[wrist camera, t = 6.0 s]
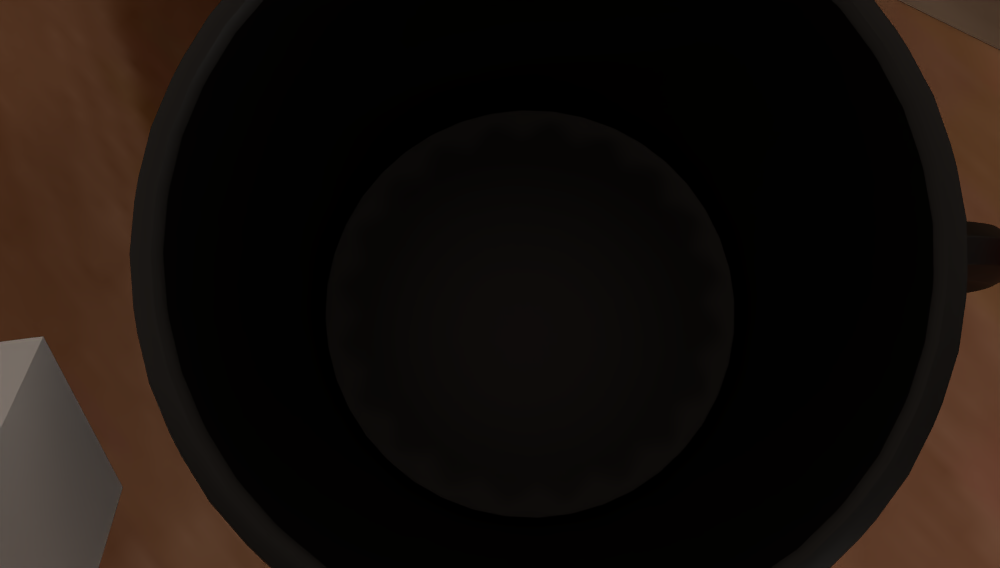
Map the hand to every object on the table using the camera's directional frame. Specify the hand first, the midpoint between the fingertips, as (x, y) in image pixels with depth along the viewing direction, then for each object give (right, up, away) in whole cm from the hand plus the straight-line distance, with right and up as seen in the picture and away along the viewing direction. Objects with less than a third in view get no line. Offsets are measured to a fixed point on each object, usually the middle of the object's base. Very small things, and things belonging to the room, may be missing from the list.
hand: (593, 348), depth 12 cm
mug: (+1, 0, +8) cm, 8 cm away
